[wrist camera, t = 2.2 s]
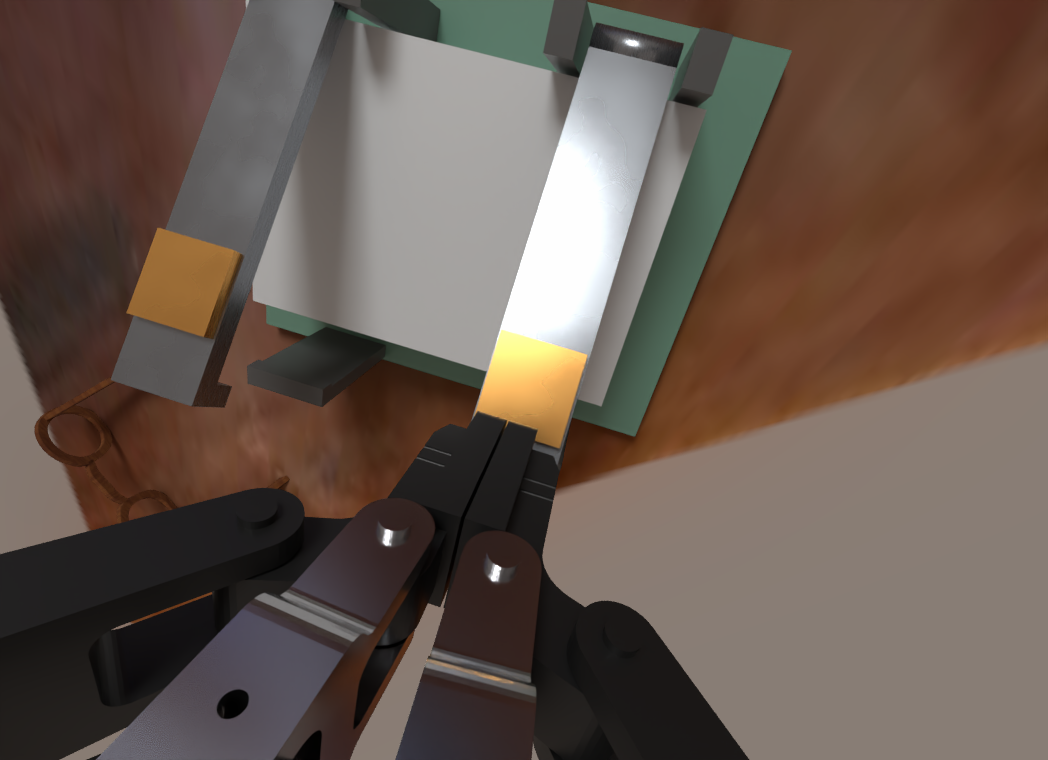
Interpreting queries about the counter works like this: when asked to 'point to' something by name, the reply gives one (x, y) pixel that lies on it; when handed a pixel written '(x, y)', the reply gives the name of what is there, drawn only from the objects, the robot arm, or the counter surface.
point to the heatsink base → (489, 194)
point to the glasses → (99, 453)
